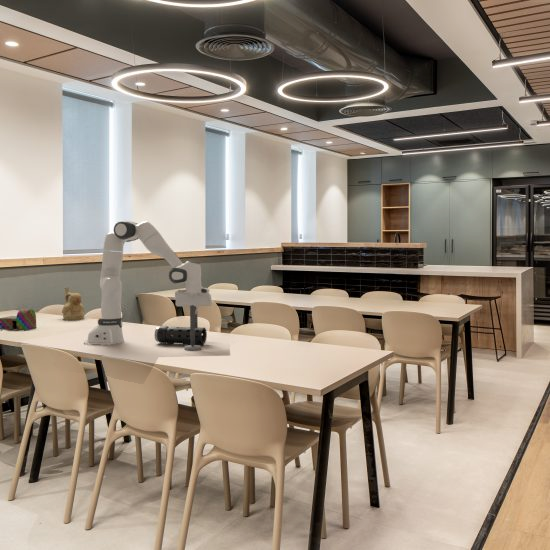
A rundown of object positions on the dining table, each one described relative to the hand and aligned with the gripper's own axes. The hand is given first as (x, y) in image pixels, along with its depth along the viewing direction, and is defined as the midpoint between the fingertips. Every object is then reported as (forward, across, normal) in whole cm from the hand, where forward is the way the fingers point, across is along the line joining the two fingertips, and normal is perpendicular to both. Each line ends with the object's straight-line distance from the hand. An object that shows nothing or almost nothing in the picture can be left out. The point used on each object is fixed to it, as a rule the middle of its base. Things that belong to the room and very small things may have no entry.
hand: (193, 314), depth 319 cm
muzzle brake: (+18, -8, 0) cm, 19 cm away
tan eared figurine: (+17, -96, +113) cm, 149 cm away
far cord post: (+17, 0, +15) cm, 23 cm away
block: (+18, -123, +76) cm, 146 cm away
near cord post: (+17, 0, -15) cm, 23 cm away
